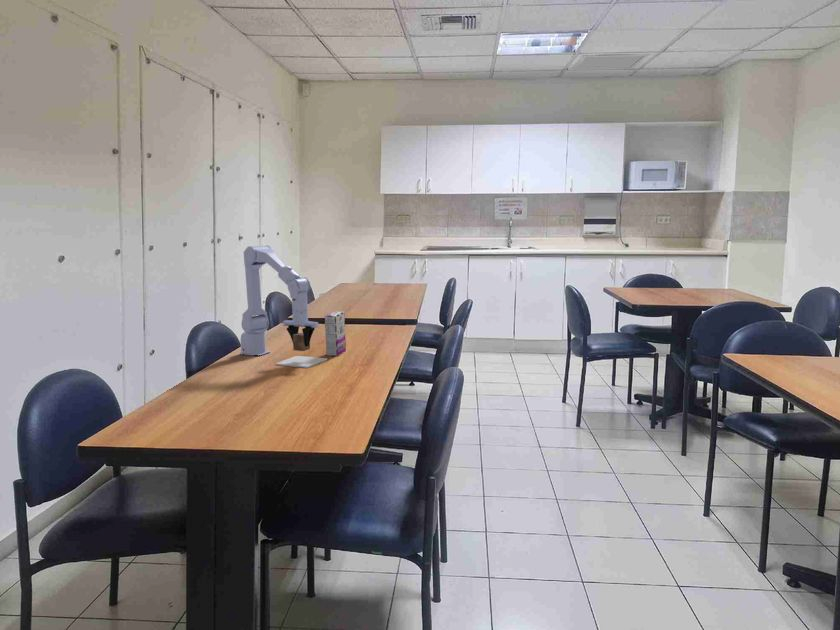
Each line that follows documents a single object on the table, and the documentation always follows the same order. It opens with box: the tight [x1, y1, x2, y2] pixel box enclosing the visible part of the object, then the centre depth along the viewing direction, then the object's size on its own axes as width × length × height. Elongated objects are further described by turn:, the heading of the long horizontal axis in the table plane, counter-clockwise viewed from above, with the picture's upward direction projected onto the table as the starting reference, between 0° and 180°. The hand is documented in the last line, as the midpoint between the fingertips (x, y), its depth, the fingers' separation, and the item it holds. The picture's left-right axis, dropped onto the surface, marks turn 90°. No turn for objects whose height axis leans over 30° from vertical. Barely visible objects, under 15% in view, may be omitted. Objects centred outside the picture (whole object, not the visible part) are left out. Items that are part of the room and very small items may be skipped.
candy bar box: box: [324, 311, 347, 357], centre depth 257 cm, size 11×5×16 cm, turn 168°
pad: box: [275, 355, 328, 369], centre depth 242 cm, size 14×14×1 cm
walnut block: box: [292, 332, 311, 352], centre depth 241 cm, size 4×4×6 cm
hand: (301, 345), depth 241 cm, fingers closed on walnut block, 4 cm apart
